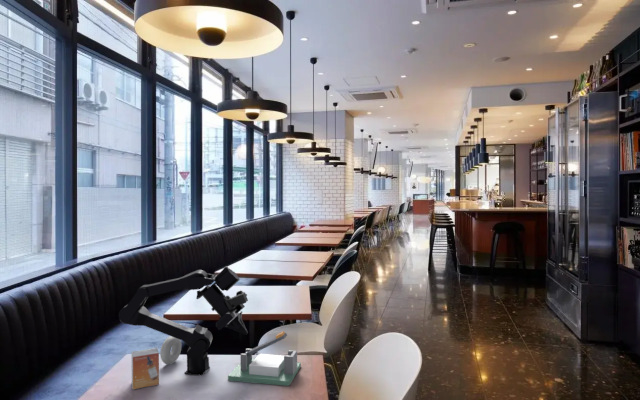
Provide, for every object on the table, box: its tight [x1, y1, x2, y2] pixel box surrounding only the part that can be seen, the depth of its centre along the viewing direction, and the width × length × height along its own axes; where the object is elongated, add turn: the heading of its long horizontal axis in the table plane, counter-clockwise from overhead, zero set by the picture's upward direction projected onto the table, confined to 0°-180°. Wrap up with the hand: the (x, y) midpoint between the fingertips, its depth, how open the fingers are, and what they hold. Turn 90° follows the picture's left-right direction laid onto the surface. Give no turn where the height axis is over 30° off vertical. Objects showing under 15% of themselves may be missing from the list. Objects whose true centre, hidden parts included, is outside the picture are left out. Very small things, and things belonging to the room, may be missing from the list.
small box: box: [131, 347, 160, 390], centre depth 134 cm, size 8×6×10 cm
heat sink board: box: [227, 348, 302, 387], centre depth 141 cm, size 21×15×8 cm
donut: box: [159, 336, 182, 365], centre depth 150 cm, size 10×4×10 cm, turn 164°
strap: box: [244, 330, 288, 356], centre depth 141 cm, size 17×3×2 cm, turn 78°
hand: (246, 333), depth 142 cm, fingers closed
